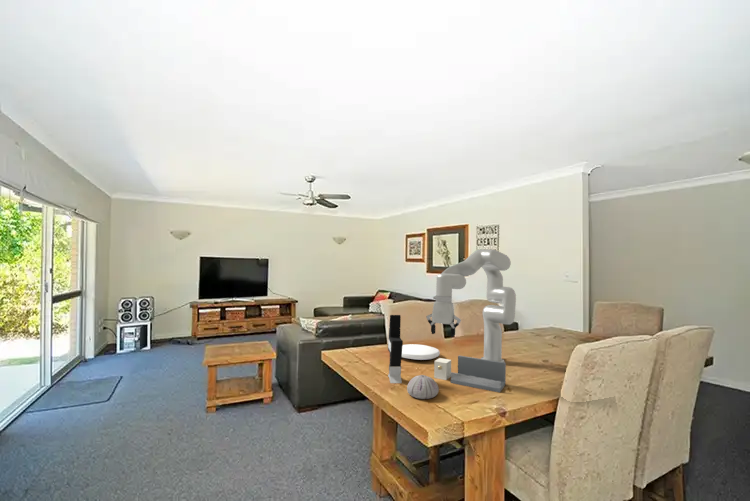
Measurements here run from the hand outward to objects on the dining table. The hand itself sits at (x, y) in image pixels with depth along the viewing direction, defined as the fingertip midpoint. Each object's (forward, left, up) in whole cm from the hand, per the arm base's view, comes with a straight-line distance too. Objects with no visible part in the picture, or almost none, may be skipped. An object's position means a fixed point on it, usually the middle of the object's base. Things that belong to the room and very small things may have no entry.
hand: (442, 335), depth 177 cm
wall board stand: (0, +17, -20) cm, 27 cm away
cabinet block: (0, 0, -20) cm, 20 cm away
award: (+16, -18, -21) cm, 31 cm away
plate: (-27, -26, -21) cm, 43 cm away
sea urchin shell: (+27, +1, -21) cm, 34 cm away
